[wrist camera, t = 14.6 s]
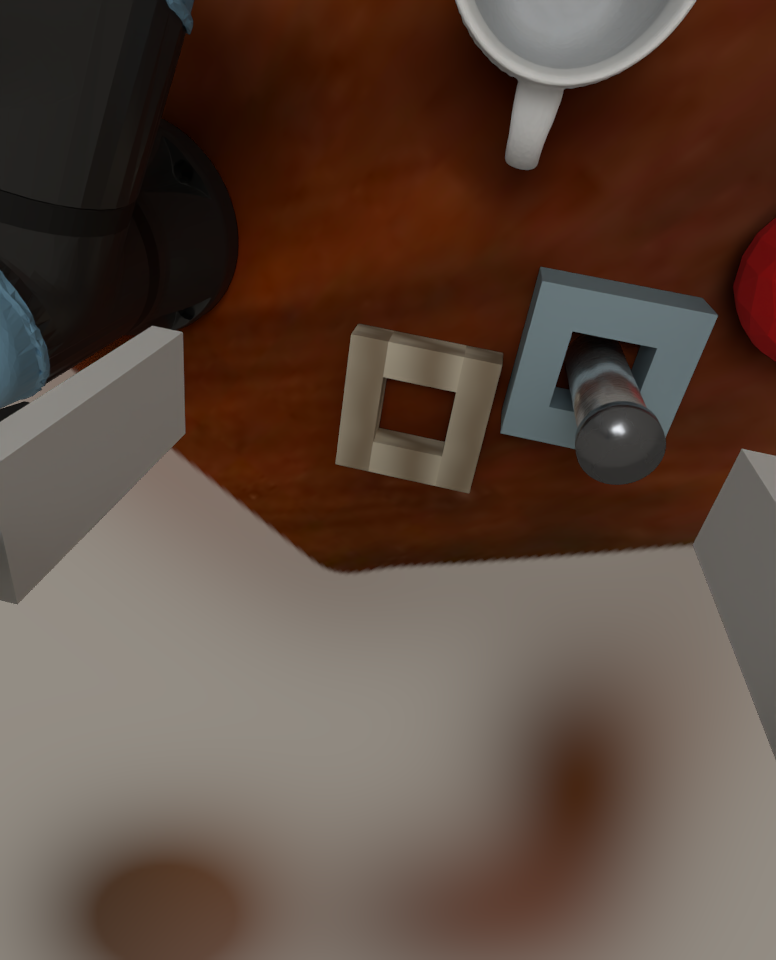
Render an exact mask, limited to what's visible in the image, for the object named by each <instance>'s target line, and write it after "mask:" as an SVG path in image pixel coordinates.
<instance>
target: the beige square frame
mask: <svg viewBox="0 0 776 960" xmlns="http://www.w3.org/2000/svg"><path fill="white" fill-rule="evenodd" d="M502 363H503V353H500V352H496V351H491V350H486V349H481V348H476V347H471V346H466V345H461V344H456V343H451V342H446V341H442V340H437V339H432V338H427V337H422V336H417V335H412V334H407V333H402V332H397V331H392V330H388V329H383V328H378V327H373V326H368V325H363V324H358V325H357V326H356V328H355V329H354V331H353V332H352V334H351V340H350V348H349V356H348V364H347V373H346V381H345V389H344V397H343V406H342V414H341V422H340V430H339V439H338V447H337V455H336V463H335V464H338V465H342V466H347V467H351V468H356V469H360V470H365V471H369V472H374V473H378V474H383V475H388V476H392V477H397V478H401V479H406V480H410V481H415V482H419V483H424V484H429V485H433V486H438V487H442V488H447V489H451V490H456V491H460V492H465V493H469V492H470V488H471V484H472V480H473V476H474V473H475V469H476V465H477V461H478V457H479V453H480V449H481V446H482V442H483V438H484V434H485V430H486V426H487V422H488V419H489V415H490V411H491V407H492V403H493V399H494V395H495V392H496V388H497V384H498V380H499V376H500V372H501V368H502ZM387 378H390V379H394V380H399V381H404V382H409V383H414V384H418V385H423V386H428V387H433V388H438V389H442V390H447V391H452V392H456V395H455V399H454V404H453V408H452V413H451V417H450V422H449V426H448V431H447V435H446V440H445V442H443V441H438V440H434V439H429V438H424V437H420V436H415V435H410V434H406V433H401V432H396V431H392V430H387V429H382V428H379V424H380V418H381V411H382V405H383V399H384V392H385V386H386V380H387Z"/></svg>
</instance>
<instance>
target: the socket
mask: <svg viewBox="0 0 776 960" xmlns="http://www.w3.org/2000/svg"><path fill="white" fill-rule="evenodd" d="M717 317H718V315H717V314H716V312H715V311H714V310H713V309H712V308H711V307H710V306H709V305H708V304H707V302H706V301H705V300H704V299H703V298H700V297H694V296H689V295H684V294H679V293H674V292H669V291H663V290H658V289H653V288H648V287H643V286H638V285H632V284H627V283H622V282H617V281H612V280H607V279H601V278H596V277H591V276H586V275H581V274H576V273H570V272H565V271H560V270H555V269H550V268H545V267H540V270H539V274H538V278H537V281H536V285H535V289H534V292H533V296H532V300H531V304H530V307H529V311H528V315H527V318H526V322H525V326H524V330H523V333H522V337H521V341H520V344H519V348H518V352H517V356H516V359H515V363H514V367H513V370H512V374H511V378H510V382H509V385H508V389H507V393H506V396H505V400H504V404H503V408H502V416H501V433H502V434H507V435H512V436H516V437H521V438H526V439H530V440H535V441H540V442H544V443H549V444H554V445H559V446H563V447H568V448H573V449H575V435H576V431H577V424H576V419H575V414H574V409H573V403H572V398H571V393H570V390H568V389H564V388H559V387H555V386H556V383H557V380H558V376H559V373H560V370H561V367H562V364H563V360H564V357H565V354H566V351H567V348H568V344H569V341H570V338H571V335H572V332H578V333H583V334H588V335H593V336H598V337H603V338H608V339H613V340H618V341H623V342H628V343H633V344H638V345H641V346H640V349H639V351H638V354H637V357H636V359H635V362H634V365H633V367H632V370H631V372H632V375H633V377H634V379H635V382H636V384H637V386H638V389H639V391H640V393H641V396H642V398H643V400H644V403H645V405H646V407H647V408H648V409H649V410H650V411H652V412H653V414H654V415H655V416H656V417H657V419H658V420H659V422H660V425H661V427H662V429H663V431H664V434H665V437H666V435H667V433H668V430H669V428H670V426H671V423H672V421H673V419H674V416H675V414H676V412H677V409H678V407H679V405H680V403H681V400H682V398H683V396H684V393H685V391H686V389H687V386H688V384H689V382H690V379H691V377H692V375H693V372H694V370H695V368H696V365H697V363H698V361H699V359H700V356H701V354H702V352H703V349H704V347H705V345H706V342H707V340H708V338H709V335H710V333H711V331H712V328H713V326H714V324H715V321H716V319H717Z"/></svg>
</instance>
